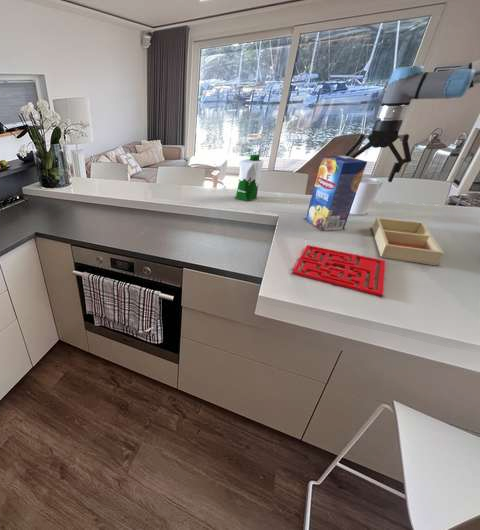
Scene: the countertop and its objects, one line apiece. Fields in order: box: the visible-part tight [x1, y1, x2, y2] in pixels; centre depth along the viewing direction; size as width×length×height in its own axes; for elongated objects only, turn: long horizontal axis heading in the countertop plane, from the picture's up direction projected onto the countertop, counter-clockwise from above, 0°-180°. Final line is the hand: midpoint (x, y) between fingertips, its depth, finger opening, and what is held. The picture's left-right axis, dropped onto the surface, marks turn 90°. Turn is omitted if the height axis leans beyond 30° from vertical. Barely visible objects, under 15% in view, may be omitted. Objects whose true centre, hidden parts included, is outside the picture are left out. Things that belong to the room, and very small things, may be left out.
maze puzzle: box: [292, 244, 386, 297], centre depth 83 cm, size 20×20×1 cm
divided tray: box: [371, 217, 444, 266], centre depth 92 cm, size 12×24×4 cm, turn 148°
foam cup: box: [349, 177, 384, 216], centre depth 115 cm, size 10×9×13 cm
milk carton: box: [235, 154, 265, 202], centre depth 138 cm, size 9×9×20 cm
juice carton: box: [305, 154, 368, 231], centre depth 105 cm, size 12×8×24 cm, turn 179°
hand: (366, 179), depth 112 cm, fingers open, 13 cm apart
